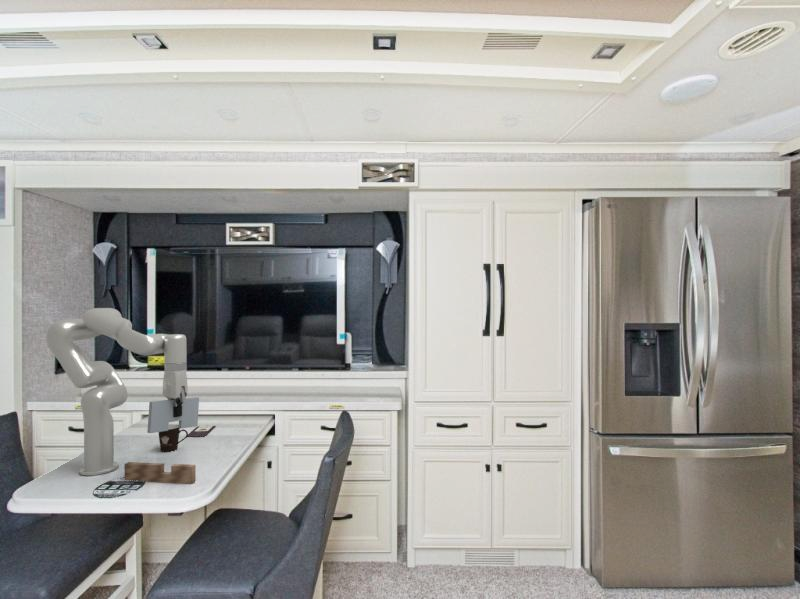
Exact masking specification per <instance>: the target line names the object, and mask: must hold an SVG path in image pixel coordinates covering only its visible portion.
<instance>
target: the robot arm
mask: <svg viewBox="0 0 800 599" xmlns="http://www.w3.org/2000/svg"><path fill="white" fill-rule="evenodd" d="M100 335H104V336H107V337H109V338H111V339H113V340H115V341H117V343H118V344H119V346H121V347H122V348H123V349H124V350H127V351H129V352H131V353H135V354H137V355H140V356H153V355H158V354H164V355H163V356H164V373H163V380H162V396H163V397H165V398H167V399H166V400H171V399H174V407H173V417H179V416H182V405H183V402H184V401H186V398H187V396H188V390H189V388H188V377H187V368H188V367H187V364H188V362H187V356H188V355H187V352H188V351H187V337H186V335H185V334H182V333H181V334H180V333H178V334H177V333H175V334H172V333H171V334H168V333H153V334H152V333H151V334H143V333H141V332H139V331H136V330H134V329H133V323H132V322H131V320H129V319H127V318H124V317H122V314H121V312H120V311H119V310H118V309H115V308H113V307H95V308H94V307H93V308H91V309H88V310H87V311H86V312H84V314H83V315H82V317H81V318H68V319H66V318H65V319H61V320H57V321H55V322H53V323H52V324H50V326H49V327H48V329H47V330H46V336H45V341H46V344H47V347H48V349H49V350H50V352H51V353H52V354H53V356H54V357H55V358H56V360H57V361H58V362H59V364H60V366H61V367H62V369H63V371H64V372H65V373H66V374H65V375H66V376H67V377H68V378H69V379H70V382H71V383H72V385H73V386H74V387H76V388H78V389H88V388H91V389H89V390H87V391H85V392H84V394H83V395H82V396H81V399H80V407H81V408H80V409H81V412H82V417H83V447H84V448H83V461H84V462H83V465H84V466H82V467H81V468H79V470H78V474H79V475H82V476H98V475H103V474H106V473H110V472H113V471H114V470H117V469H118V468H119V463H118V462H117V461H115V459H114V453H115V452H114V451H115V450H114V447H115V446H114V443H115V442H114V440H115V439H114V438H115V437H114V432H115V430H114V428H115V427H114V424H115V423H114V418H113V415H112V413H111V411H110V410H112V409H115V408H117V407H120V406H121V405H123V404H125V403H126V401H127V399H128V393H129V392H128V390H127V387H126V385H125V383H124V382H123V381H122V379H121V378H120V376H119V374H118V373H117V371H116V369H115V368H114V366H112V364H110V363H108V362H107V361H105V360H95V361H91V359H89V357H88V356H87V354H86V352H85V351H84V350H83V349H82V348H81V347H79V346H78V345H77V344H76V343H75V341H84V340H85V341H86V340H90V339H93V338H96V337H98V336H100ZM95 386H96V387H95ZM92 387H93V388H92ZM177 400H178V401H177Z"/></svg>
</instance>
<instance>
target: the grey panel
mask: <svg viewBox="0 0 800 599" xmlns="http://www.w3.org/2000/svg"><path fill="white" fill-rule="evenodd" d="M177 401H178V400H177ZM199 406H200V397H199V396H191V397H186V401H184V402H183V405H182V416H179V417H173V407H174V399H171V400H168V399H164V400H163V399H162V400H153V401H149V405H148V419H147V433H148V434H155V433H158V432H162V431H168V425H170V424H169V423H174V422H178V425H179V427H178V428H180V430H183V429H187V428H194V427H195V428H196V427H198V422H199Z"/></svg>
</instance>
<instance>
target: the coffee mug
mask: <svg viewBox="0 0 800 599" xmlns="http://www.w3.org/2000/svg"><path fill="white" fill-rule="evenodd" d="M178 427H179V424H176V423H175V424H174V423H173V424H169V425H168V431H162V432H157V433H158V439H159V446H160V452H161V453H172V452H171V451H173V452H175V450H176V451H177V450H178V446H179V444H180V443H181V442H183V441H185V440H186V437H187V436H188V434H189V433H188V431H187V430H186V429H181V428H178ZM181 432H184V433H185V434H186V435H185V436H184V437H183V438H182V439H181V440H179V438H180V434H181Z"/></svg>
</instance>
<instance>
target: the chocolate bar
mask: <svg viewBox="0 0 800 599" xmlns="http://www.w3.org/2000/svg"><path fill="white" fill-rule="evenodd" d="M215 428H216V425H205V426H202V425H201V426H200V425H199V426H198V425H197V426H195V428H194V429H193V430H191V431H190V432H189V433H188V436H187V437H193V438H206V437H207V436H208V435H209V434H210V433H211V432H212V431H213V430H214V429H215ZM205 436H206V437H205ZM185 437H186V436H185ZM187 437H186V438H187ZM186 438H185V439H186ZM187 439H188V438H187Z"/></svg>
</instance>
